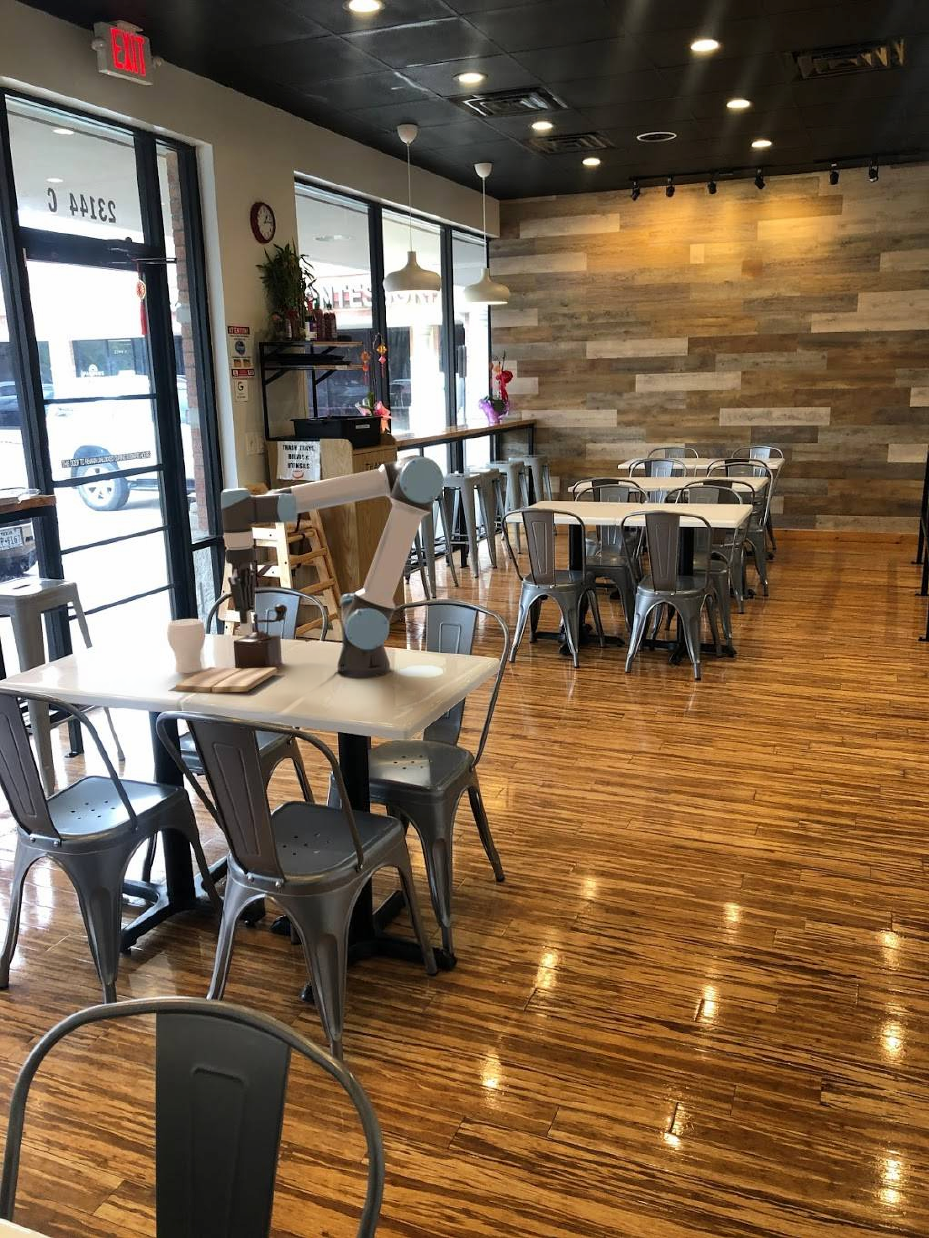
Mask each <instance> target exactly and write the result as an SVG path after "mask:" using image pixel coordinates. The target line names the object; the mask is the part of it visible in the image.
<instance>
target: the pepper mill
mask: <svg viewBox="0 0 929 1238" xmlns="http://www.w3.org/2000/svg"><path fill="white" fill-rule="evenodd" d="M287 607H288V606H286V605H285V604H280V603H279V604H277V605H275V606H274V612H275V613H276V615H275V616H276V617H275V619H258V615H259V614H257V613H253V616H252V617H253V620H252V621H253V623H254V631H253V634H252V635H244V636H243V637H240V638H238V639H235V640H233V655H234V656H233V657H234V668H241V669H246V668H274V667H276V668H277V667H278V666H279V665H281V664H282V663H283V661H282V643H281V640H282V639H281V635H276V634H269V632H268V631H263V630H259V623H275V622H279V623H281V621H285V615H286V614H287V612H288V608H287Z"/></svg>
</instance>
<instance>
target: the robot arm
mask: <svg viewBox="0 0 929 1238" xmlns="http://www.w3.org/2000/svg"><path fill="white" fill-rule="evenodd" d="M443 486H444V475H443V471H442V470H441V467H440V466H439V464H437V462H436V461H435V460H433V459H431V458H429V457H426V456H422V455H418V454H417V455H416V454H414V455H408V456H405V457H402V458H400V459H397V460H393V461H391V462H386V463H383V464H380V467H379V468H375V469H371V470H366V471H362V472H357V473H352V474H346V475H343V476H342V475H341V476H338V477H333V478H331V477H330V478H328V479H323V480H318V481H313V482H312V481H311V482H308V483H304V484H298V485H294V486H290V487H283V488H280V489H279V488H278V489H277V488H275V489H273V488H272V489H269V490H267V491H266V492H265V493H264V494H262V495H261V494H260V495H258V494H257V495H254V494H253V495H251V493H250V490H249V488H247V487H246V488H245V487H243V488H242V487H239V488H226V489H223V490H222V491H221V493H220V506H221V507H220V509H221V519H222V520H221V521H222V527H223V536H222V539H224V547H225V548H226V549H225V551H224V552H225V553H224V554H225V562H226V563H227V564H231V576H228V577H227V581H228V584H229V587H230V592H231V596H232V597H231V598H232V603H233V607H234V611H235V613H236V612H237V613H238V614H239V625H240V635H241V636H247V635H252V634H253V632H254V631H253V622H252V621H253V620H252V611H253V610H255V607H254V606H255V578H256V570H255V569H252V565H251V563H253V562H255V560H256V555H255V553H256V552H255V548H254V547H253V546H254V545H255V541H254V531H253V525H258V524H261V525H262V524H275V523H276V524H279V523H281V524H282V523H283V524H287V523H290V522H291V523H292V522H296V521H297V519H298V514H302V513H305V512H310V511H315V510H320V509H326V508H330V507H335V506H340V505H345V504H349V503H354V502H359V501H363V500H369V499H374V498H378V497H384V496H386V497H387V498H389V500H390V502H391V504H392V507H391V508H390V509H391V510H390V513H389V514H388V515H389V516H388V519H387V520H386V523H385V526H384V527H383V532H382V534H381V538H380V539H379V540H380V541H379V543H378V546H377V548H376V550H375V553H374V556H373V558H372V562H371V565H370V567H369V570H368V573H367V575H366V578H365V581H364V584H363V586H362V588H361V589H359V590H357V591H355V592H352V593H344V594H343V595H341V597H340V607H341V608H340V609H341V611H340V612H341V614H340V615H341V634H342V648H341V651H340V655H339V658H338V662H337V667H336V668H337V673H338V674H339V675H340V676H343V677H348V678H373V677H378V676H383V675H387V674H388V673H389V672H390V671H391V663H390V662H391V661H390V659H389V657H388V654H387V652H386V649H385V646H384V643H385V641H386V640H387V639H388V637H389V633H390V623H391V620H392V618H393V615H394V611H395V609H396V604H395V603H394V600H393V599H394V595H395V593H396V591H397V588H398V584H399V582H400V580H401V576H402V574H403V571H404V569H405V565H406V563H407V560H408V557H409V556H410V552H411V549H412V546H413V544H414V542H415V539H416V536H417V533H418V530H419V527H420V525H421V523H422V519H423V517H425V516H427V515H429V514H431V511H432V508H433V506H434V503H435V501H436V499H437V498H438V496H439V495H440V493H441V492H442V490H443ZM251 610H252V611H251Z"/></svg>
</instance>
